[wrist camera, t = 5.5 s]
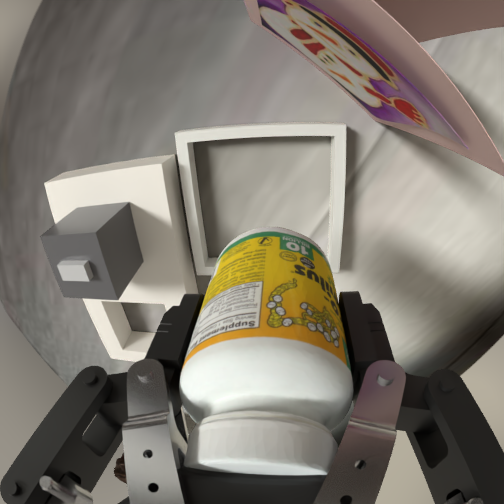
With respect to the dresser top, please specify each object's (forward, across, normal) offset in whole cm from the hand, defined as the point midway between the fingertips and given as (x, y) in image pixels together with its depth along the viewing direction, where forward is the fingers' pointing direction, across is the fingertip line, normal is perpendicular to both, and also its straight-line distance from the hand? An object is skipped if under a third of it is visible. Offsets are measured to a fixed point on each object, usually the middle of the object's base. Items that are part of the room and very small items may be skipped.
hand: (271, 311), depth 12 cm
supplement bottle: (+3, 0, 0) cm, 3 cm away
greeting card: (+13, -5, -12) cm, 18 cm away
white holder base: (+12, +13, +6) cm, 19 cm away
